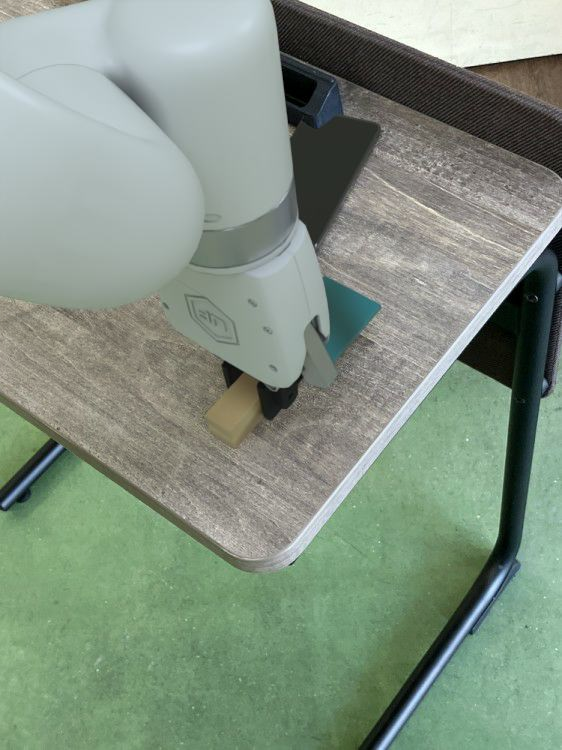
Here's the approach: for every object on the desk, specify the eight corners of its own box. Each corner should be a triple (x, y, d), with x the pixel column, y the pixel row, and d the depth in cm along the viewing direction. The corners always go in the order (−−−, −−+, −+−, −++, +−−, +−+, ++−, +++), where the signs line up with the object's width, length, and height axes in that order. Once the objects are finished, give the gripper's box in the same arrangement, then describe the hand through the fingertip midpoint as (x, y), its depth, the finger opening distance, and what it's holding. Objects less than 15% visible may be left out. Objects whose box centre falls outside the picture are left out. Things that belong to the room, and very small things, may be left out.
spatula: (251, 460, 62) (247, 442, 60) (194, 423, 64) (188, 404, 62) (381, 308, 68) (381, 287, 66) (325, 279, 70) (323, 257, 68)
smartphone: (383, 122, 84) (314, 251, 76) (384, 131, 85) (315, 260, 77) (307, 106, 86) (232, 229, 78) (308, 115, 87) (234, 238, 79)
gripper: (68, 188, 52) (142, 377, 67) (304, 317, 45) (326, 494, 60) (159, 108, 55) (210, 306, 70) (393, 218, 48) (393, 411, 63)
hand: (263, 392), depth 65 cm, fingers closed on spatula, 2 cm apart
